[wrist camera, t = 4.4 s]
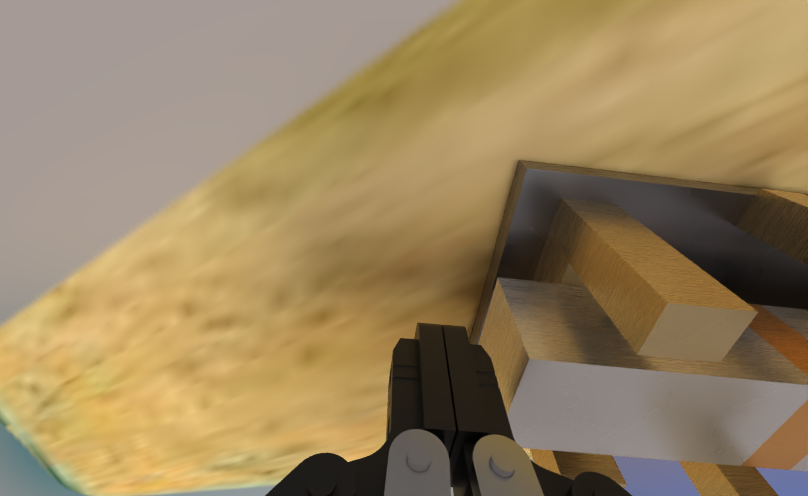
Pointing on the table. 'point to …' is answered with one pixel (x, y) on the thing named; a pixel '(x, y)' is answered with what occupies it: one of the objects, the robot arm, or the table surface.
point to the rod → (646, 384)
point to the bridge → (804, 241)
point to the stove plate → (658, 211)
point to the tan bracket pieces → (636, 299)
